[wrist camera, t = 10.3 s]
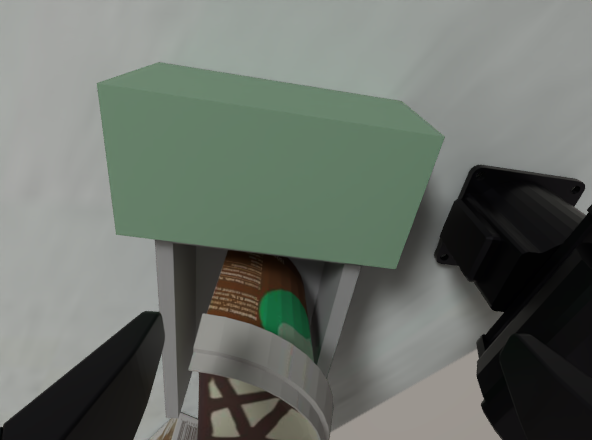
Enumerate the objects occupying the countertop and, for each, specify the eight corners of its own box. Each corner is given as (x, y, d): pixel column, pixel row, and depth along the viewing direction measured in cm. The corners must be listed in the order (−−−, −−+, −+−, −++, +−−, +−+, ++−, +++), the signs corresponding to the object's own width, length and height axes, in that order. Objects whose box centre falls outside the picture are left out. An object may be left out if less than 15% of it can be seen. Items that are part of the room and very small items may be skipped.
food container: (306, 362, 27) (311, 527, 18) (225, 354, 26) (191, 519, 18) (339, 224, 21) (370, 376, 12) (234, 211, 20) (188, 358, 12)
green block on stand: (401, 101, 18) (444, 136, 12) (323, 367, 28) (329, 447, 23) (158, 62, 17) (96, 83, 12) (171, 352, 27) (141, 431, 22)
